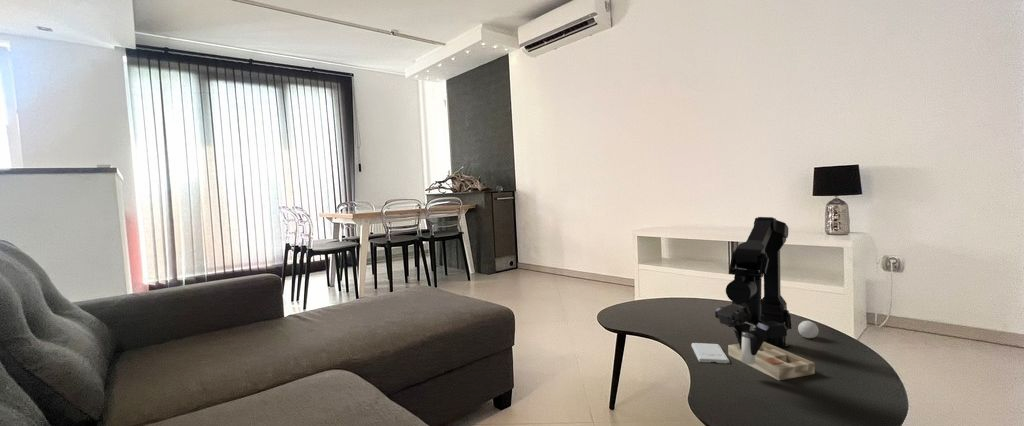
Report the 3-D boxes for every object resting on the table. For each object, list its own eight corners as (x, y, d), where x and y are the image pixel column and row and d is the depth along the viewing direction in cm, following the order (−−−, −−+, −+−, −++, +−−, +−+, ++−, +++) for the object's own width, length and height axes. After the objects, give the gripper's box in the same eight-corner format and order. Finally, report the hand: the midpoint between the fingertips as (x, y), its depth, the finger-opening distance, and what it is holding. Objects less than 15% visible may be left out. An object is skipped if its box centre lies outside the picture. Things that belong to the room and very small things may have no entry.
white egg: (821, 341, 141) (821, 324, 141) (800, 339, 143) (800, 323, 143) (813, 333, 148) (814, 317, 148) (794, 332, 150) (794, 316, 150)
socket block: (760, 349, 136) (760, 339, 136) (814, 373, 119) (814, 362, 118) (728, 354, 133) (728, 344, 133) (778, 380, 115) (779, 368, 115)
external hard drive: (719, 349, 139) (729, 365, 127) (691, 347, 141) (699, 363, 128) (719, 344, 139) (729, 359, 127) (691, 342, 140) (699, 358, 128)
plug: (748, 358, 119) (748, 329, 119) (757, 363, 116) (758, 333, 116) (738, 360, 118) (738, 331, 118) (747, 365, 115) (748, 335, 115)
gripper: (699, 289, 123) (698, 344, 124) (751, 307, 105) (751, 371, 106) (732, 286, 126) (731, 339, 127) (789, 302, 108) (788, 364, 109)
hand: (748, 352), depth 117 cm, fingers closed on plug, 3 cm apart
